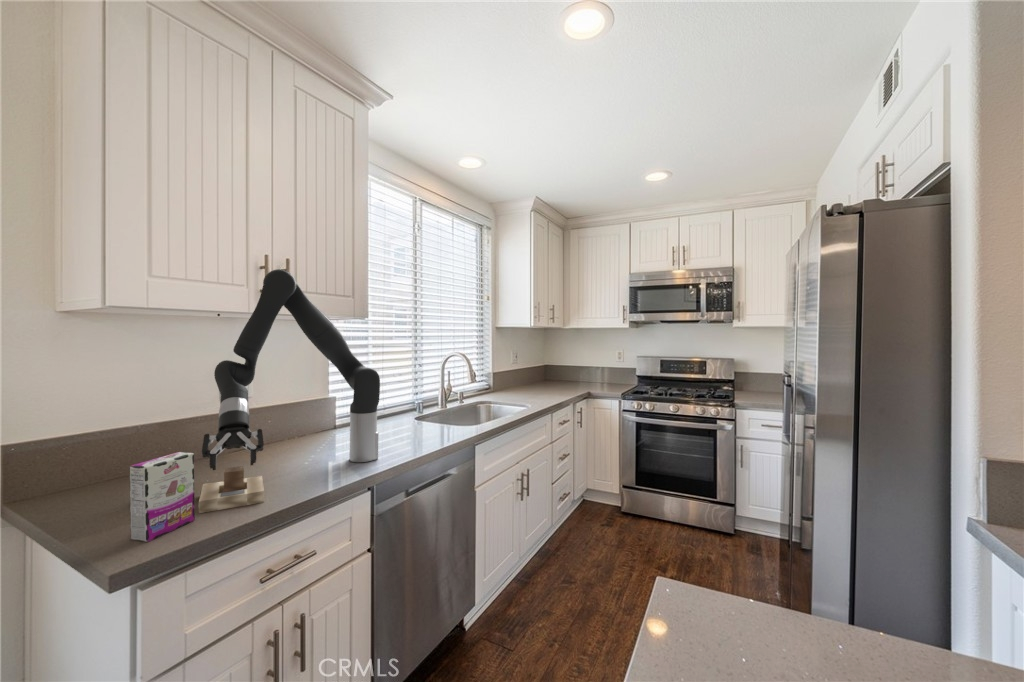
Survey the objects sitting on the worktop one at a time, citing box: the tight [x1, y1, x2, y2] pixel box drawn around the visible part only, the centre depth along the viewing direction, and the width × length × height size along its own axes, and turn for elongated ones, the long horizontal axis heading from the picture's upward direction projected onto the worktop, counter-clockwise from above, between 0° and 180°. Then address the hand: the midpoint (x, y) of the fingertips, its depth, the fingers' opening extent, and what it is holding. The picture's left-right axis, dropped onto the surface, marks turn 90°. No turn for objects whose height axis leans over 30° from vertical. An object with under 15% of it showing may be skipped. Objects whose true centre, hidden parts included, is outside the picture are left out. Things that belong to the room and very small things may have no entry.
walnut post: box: [223, 465, 245, 493], centre depth 115 cm, size 4×4×8 cm
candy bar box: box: [129, 451, 196, 543], centre depth 96 cm, size 11×5×16 cm, turn 168°
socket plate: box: [198, 475, 265, 514], centre depth 115 cm, size 14×14×3 cm
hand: (233, 466), depth 114 cm, fingers open, 8 cm apart
